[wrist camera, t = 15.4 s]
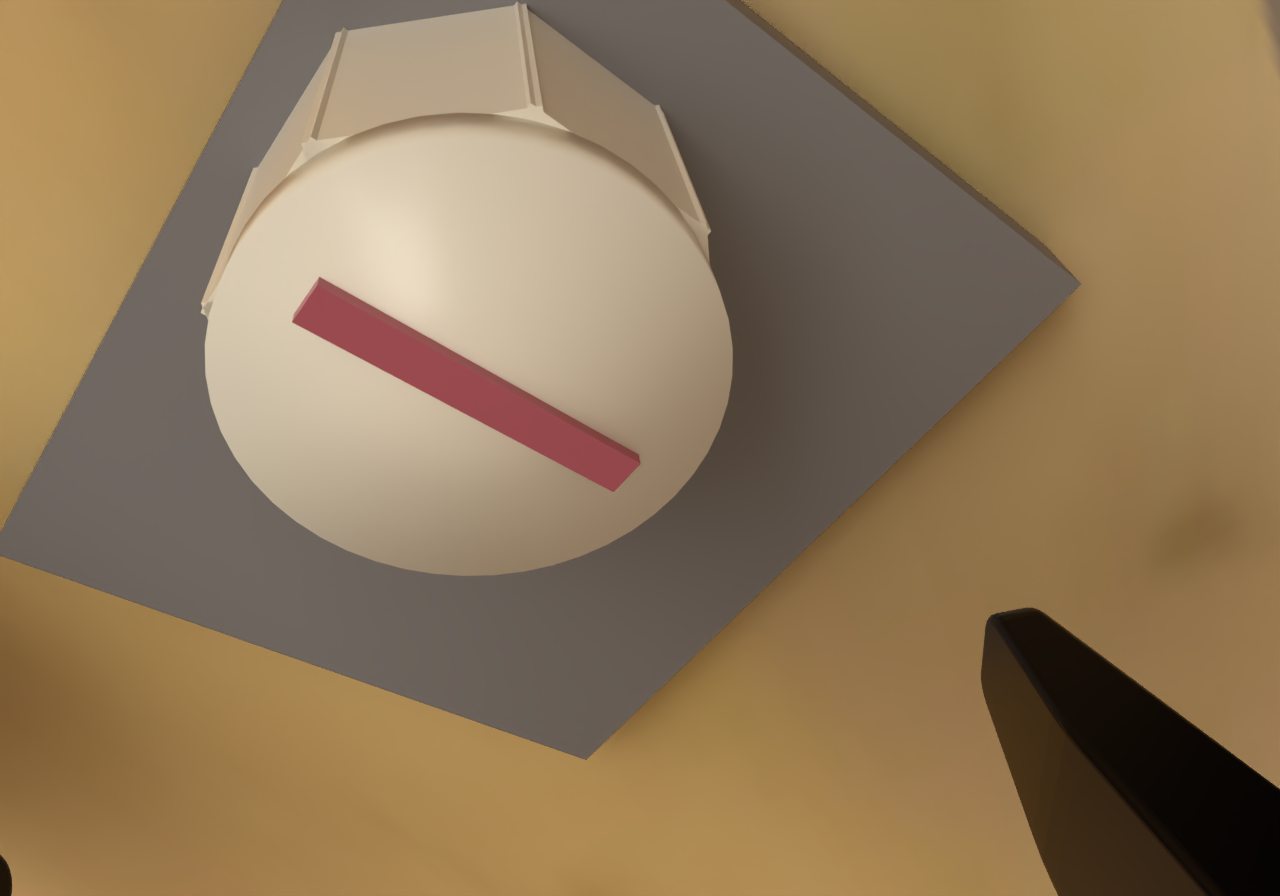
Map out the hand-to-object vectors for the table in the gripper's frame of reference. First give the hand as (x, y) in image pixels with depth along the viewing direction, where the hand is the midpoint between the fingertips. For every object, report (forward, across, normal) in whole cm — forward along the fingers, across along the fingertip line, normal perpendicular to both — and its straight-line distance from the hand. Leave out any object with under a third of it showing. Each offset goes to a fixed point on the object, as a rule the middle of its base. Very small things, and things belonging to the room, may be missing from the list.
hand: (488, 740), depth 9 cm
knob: (+10, 0, 0) cm, 10 cm away
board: (+12, 0, +4) cm, 13 cm away
